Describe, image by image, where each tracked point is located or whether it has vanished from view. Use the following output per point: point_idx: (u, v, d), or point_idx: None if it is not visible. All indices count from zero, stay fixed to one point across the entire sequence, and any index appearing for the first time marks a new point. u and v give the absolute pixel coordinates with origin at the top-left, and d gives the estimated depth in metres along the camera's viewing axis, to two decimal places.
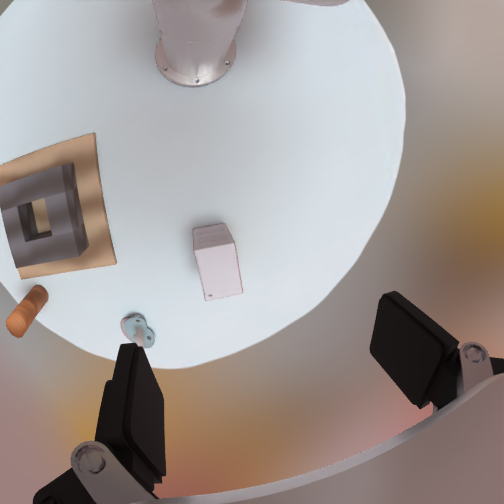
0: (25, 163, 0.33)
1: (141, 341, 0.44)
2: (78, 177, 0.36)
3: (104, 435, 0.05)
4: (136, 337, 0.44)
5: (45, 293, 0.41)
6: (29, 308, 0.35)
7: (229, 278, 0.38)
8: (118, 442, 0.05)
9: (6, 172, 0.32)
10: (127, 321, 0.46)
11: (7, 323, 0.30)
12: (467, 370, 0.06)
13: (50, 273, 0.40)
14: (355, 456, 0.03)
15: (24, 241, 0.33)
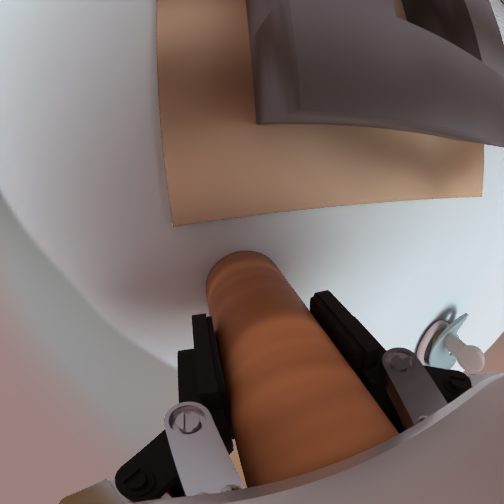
0: None
1: None
2: None
3: (201, 392, 0.06)
4: (480, 351, 0.17)
5: None
6: None
7: None
8: (213, 398, 0.06)
9: None
10: (452, 326, 0.19)
11: None
12: (400, 383, 0.06)
13: (342, 200, 0.13)
14: (355, 456, 0.03)
15: (390, 12, 0.06)
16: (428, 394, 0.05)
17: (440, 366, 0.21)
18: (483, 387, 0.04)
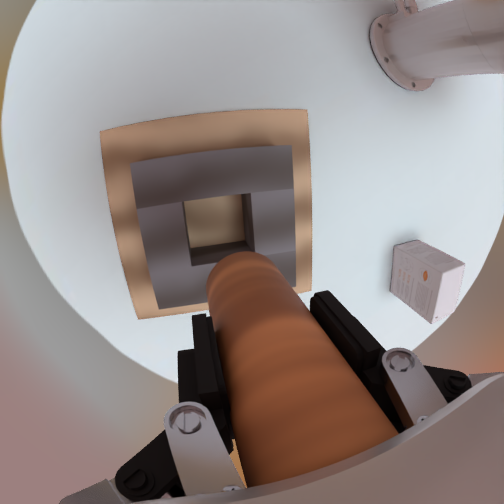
0: (175, 130, 0.25)
1: None
2: None
3: (201, 392, 0.06)
4: None
5: None
6: (343, 357, 0.08)
7: (453, 298, 0.30)
8: (213, 398, 0.06)
9: (126, 141, 0.24)
10: None
11: None
12: (400, 383, 0.06)
13: (202, 308, 0.32)
14: (355, 456, 0.03)
15: (189, 265, 0.25)
16: (428, 394, 0.05)
17: None
18: (483, 387, 0.04)
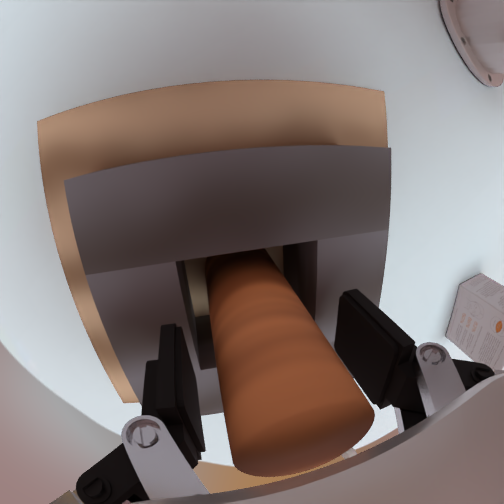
0: (163, 112, 0.13)
1: None
2: None
3: (158, 407, 0.06)
4: (351, 453, 0.24)
5: None
6: (311, 317, 0.10)
7: None
8: (171, 413, 0.06)
9: (78, 135, 0.12)
10: None
11: (258, 445, 0.05)
12: (429, 375, 0.06)
13: None
14: (355, 456, 0.03)
15: (196, 368, 0.13)
16: (461, 384, 0.05)
17: None
18: (483, 387, 0.04)
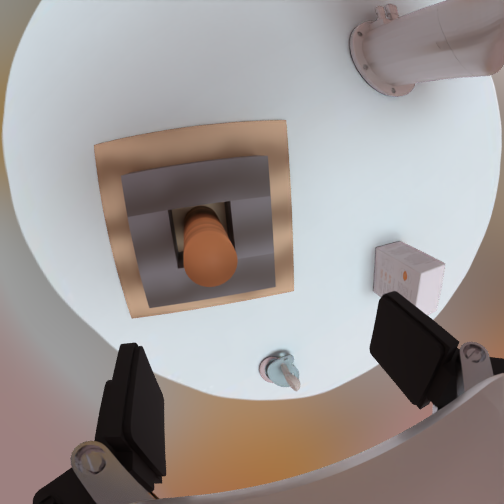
0: (162, 143, 0.27)
1: (299, 382, 0.38)
2: None
3: (104, 435, 0.05)
4: (293, 379, 0.38)
5: None
6: (223, 229, 0.24)
7: (434, 297, 0.32)
8: (118, 442, 0.05)
9: (118, 154, 0.26)
10: (275, 361, 0.40)
11: (191, 254, 0.20)
12: (467, 370, 0.06)
13: (190, 308, 0.35)
14: (355, 456, 0.03)
15: (176, 267, 0.27)
16: None
17: (283, 383, 0.43)
18: (483, 387, 0.04)
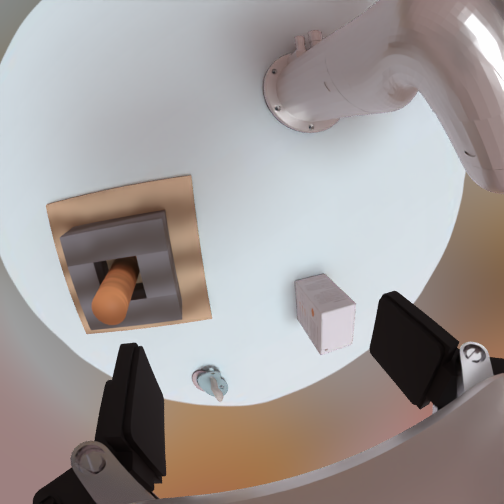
0: (92, 204, 0.33)
1: (221, 395, 0.44)
2: (171, 226, 0.36)
3: (104, 435, 0.05)
4: (215, 391, 0.44)
5: None
6: (127, 280, 0.30)
7: (345, 333, 0.38)
8: (118, 442, 0.05)
9: (63, 212, 0.32)
10: (202, 375, 0.46)
11: (95, 303, 0.25)
12: (467, 370, 0.06)
13: (128, 328, 0.40)
14: (355, 456, 0.03)
15: None
16: None
17: None
18: (483, 387, 0.04)
